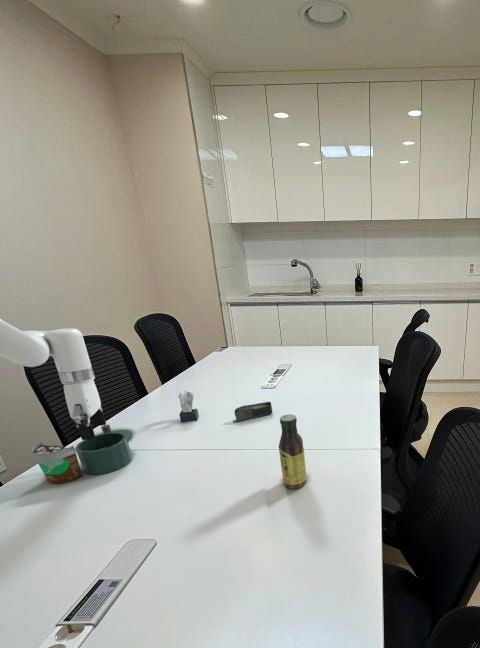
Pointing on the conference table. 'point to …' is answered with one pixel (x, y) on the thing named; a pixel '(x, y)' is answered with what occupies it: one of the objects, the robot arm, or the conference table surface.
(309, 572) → the conference table surface
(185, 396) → the stone sculpture
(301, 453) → the sauce bottle
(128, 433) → the lid
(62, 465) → the food container
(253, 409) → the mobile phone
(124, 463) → the pot
